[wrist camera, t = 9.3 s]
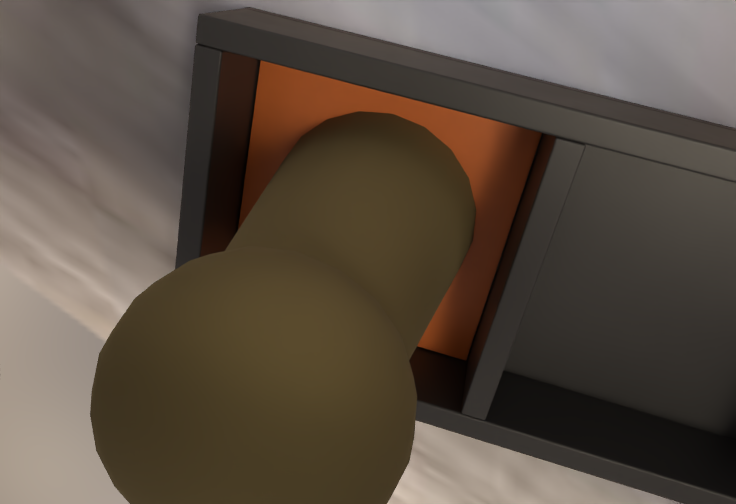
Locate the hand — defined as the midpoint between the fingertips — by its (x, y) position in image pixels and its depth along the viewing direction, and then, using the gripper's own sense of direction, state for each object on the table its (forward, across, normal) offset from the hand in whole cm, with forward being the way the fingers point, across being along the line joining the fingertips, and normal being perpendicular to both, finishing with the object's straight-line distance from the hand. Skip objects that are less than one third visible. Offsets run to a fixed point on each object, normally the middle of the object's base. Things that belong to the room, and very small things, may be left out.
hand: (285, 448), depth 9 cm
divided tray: (+11, -3, +1) cm, 12 cm away
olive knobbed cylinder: (+11, +1, +1) cm, 11 cm away
